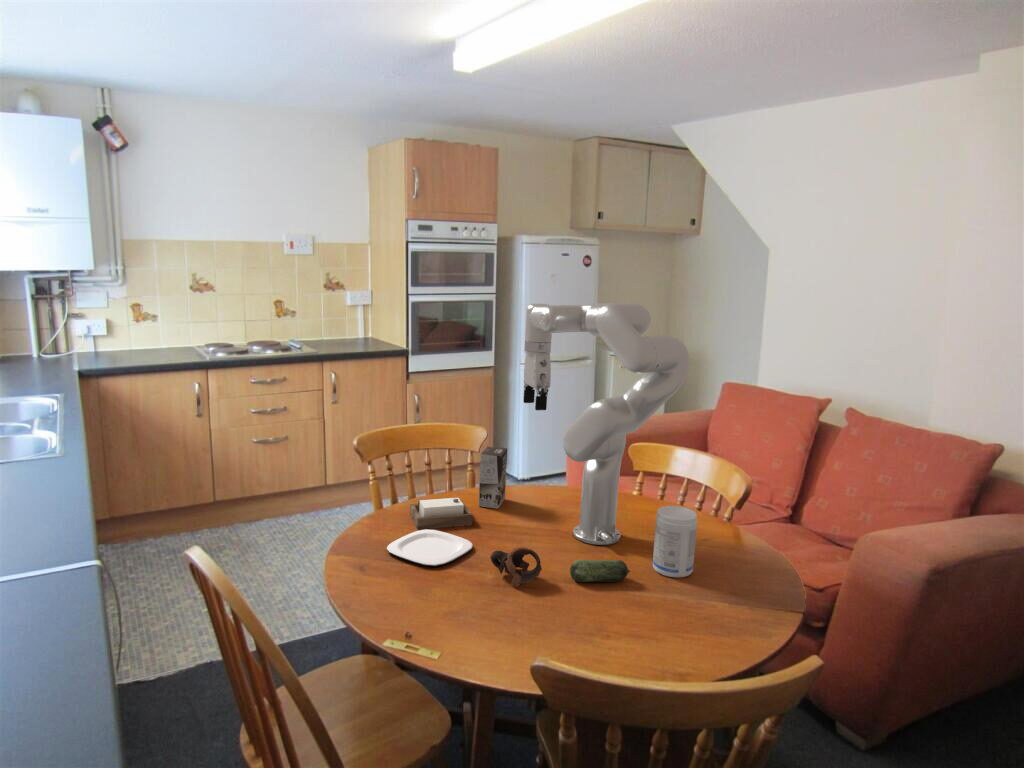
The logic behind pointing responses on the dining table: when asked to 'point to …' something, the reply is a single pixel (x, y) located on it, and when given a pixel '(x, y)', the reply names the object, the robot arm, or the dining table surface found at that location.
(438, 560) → the plate
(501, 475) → the coffee box
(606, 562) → the vegetable
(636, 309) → the robot arm
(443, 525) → the brown wooden tray
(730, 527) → the dining table surface
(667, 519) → the supplement tub
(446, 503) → the white foam brick
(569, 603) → the dining table surface
